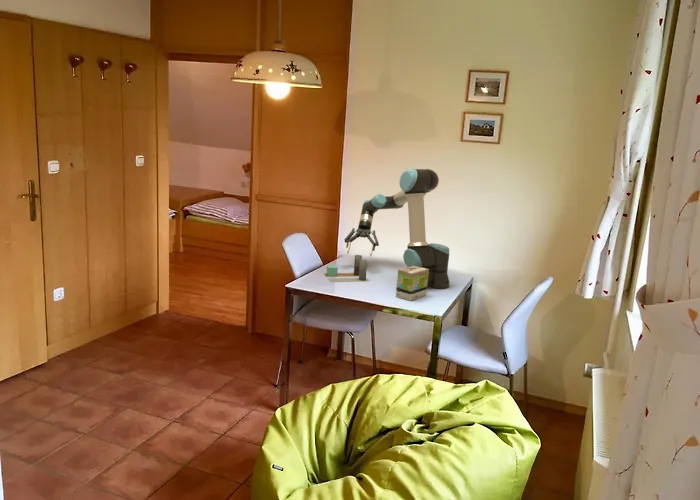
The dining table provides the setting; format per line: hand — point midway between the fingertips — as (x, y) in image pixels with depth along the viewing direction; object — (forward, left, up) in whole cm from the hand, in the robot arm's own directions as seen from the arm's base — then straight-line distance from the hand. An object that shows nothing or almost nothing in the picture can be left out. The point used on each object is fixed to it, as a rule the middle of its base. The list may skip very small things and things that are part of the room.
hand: (359, 253), depth 356 cm
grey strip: (-17, +11, -12) cm, 23 cm away
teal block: (-7, +18, -11) cm, 22 cm away
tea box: (-44, -16, -12) cm, 48 cm away
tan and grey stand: (-7, +11, -12) cm, 17 cm away
